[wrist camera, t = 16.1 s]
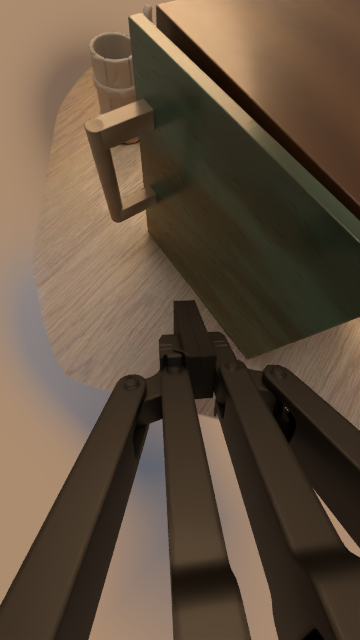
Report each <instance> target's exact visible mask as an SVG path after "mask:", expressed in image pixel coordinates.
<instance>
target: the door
mask: <svg viewBox="0 0 360 640" xmlns="http://www.w3.org/2000/svg"><path fill="white" fill-rule="evenodd" d="M128 19H129V30H130V42H131V52H132V63H133V74H134V85H135V96H136V102H133V103H131V104H128V105H126V106H123V107H120V108H118V109H115V110H113V111H110V112H107V113H105V114H102V115H100V116H97V117H94V118H92V119H89V120H87V121H86V122H85V130H86V133H87V137H88V140H89V144H90V147H91V150H92V154H93V157H94V160H95V164H96V167H97V171H98V174H99V177H100V181H101V184H102V188H103V191H104V194H105V198H106V201H107V205H108V208H109V211H110V215H111V218H112V220H113V221H114V222H117V223H120V222H122V221H124V220H126V219H128V218H130V217H132V216H134V215H136V214H138V213H140V212H142V211H144V210H145V209H146V215H147V226H148V232H149V233H150V235H151V236H152V237H153V238H154V240H155V241H156V242H157V244H158V245H159V246H160V247H161V249H162V250H163V251H164V253H165V254H166V255H167V256H168V258H169V259H170V260H171V262H172V263H173V264H174V265H175V267H176V268H177V269H178V271H179V272H180V273H181V274H182V276H183V277H184V278H185V279H186V281H187V282H188V283H189V285H190V286H191V287H192V288H193V290H194V291H195V292H196V294H197V295H198V296H199V297H200V299H201V300H202V301H203V303H204V304H205V305H206V306H207V308H208V309H209V310H210V312H211V313H212V314H213V315H214V317H215V318H216V319H217V321H218V322H219V323H220V324H221V326H222V327H223V328H224V329H225V331H226V332H227V333H228V335H229V336H230V337H231V338H232V340H233V341H234V342H235V344H236V345H237V346H238V347H239V349H240V350H241V351H242V353H243V354H244V355H245V356H246V358H247V359H251V358H253V357H256V356H258V355H261V354H264V353H266V352H269V351H272V350H274V349H277V348H280V347H282V346H285V345H287V344H290V343H293V342H295V341H298V340H301V339H303V338H306V337H308V336H311V335H314V334H316V333H319V332H322V331H324V330H327V329H330V328H332V327H335V326H337V325H340V324H343V323H345V322H348V321H351V320H353V319H356V318H358V317H360V220H358V219H357V218H356V217H355V216H354V215H353V214H352V213H351V212H350V211H349V210H348V209H347V208H346V207H345V206H344V205H343V204H342V203H341V202H340V201H339V200H337V199H336V198H335V197H334V196H333V195H332V194H331V193H330V192H329V191H328V190H327V189H326V188H325V187H324V186H323V185H322V184H321V183H320V182H319V181H318V180H316V179H315V178H314V177H313V176H312V175H311V174H310V173H309V172H308V171H307V170H306V169H305V168H304V167H303V166H302V165H301V164H300V163H299V162H298V161H297V160H295V159H294V158H293V157H292V156H291V155H290V154H289V153H288V152H287V151H286V150H285V149H284V148H283V147H282V146H281V145H280V144H279V143H278V142H277V141H276V140H274V139H273V138H272V137H271V136H270V135H269V134H268V133H267V132H266V131H265V130H264V129H263V128H262V127H261V126H260V125H259V124H258V123H257V122H256V121H255V120H253V119H252V118H251V117H250V116H249V115H248V114H247V113H246V112H245V111H244V110H243V109H242V108H241V107H240V106H239V105H238V104H237V103H236V102H235V101H234V100H232V99H231V98H230V97H229V96H228V95H227V94H226V93H225V92H224V91H223V90H222V89H221V88H220V87H219V86H218V85H217V84H216V83H215V82H214V81H213V80H211V79H210V78H209V77H208V76H207V75H206V74H205V73H204V72H203V71H202V70H201V69H200V68H199V67H198V66H197V65H196V64H195V63H194V62H193V61H192V60H190V59H189V58H188V57H187V56H186V55H185V54H184V53H183V52H182V51H181V50H180V49H179V48H178V47H177V46H176V45H175V44H174V43H173V42H172V41H171V40H169V39H168V38H167V37H166V36H165V35H164V34H163V33H162V32H161V31H160V30H159V29H158V28H157V27H156V26H155V25H154V24H153V23H152V22H151V21H150V20H148V19H147V18H146V17H145V16H144V15H143V14H142V13H138V14H135V15H131V16H129V17H128ZM138 136H139V139H140V150H141V161H142V172H143V183H144V188H142V189H140V190H138V191H136V192H134V193H132V194H130V195H128V196H126V197H124V198H122V199H121V196H120V192H119V187H118V183H117V178H116V173H115V169H114V164H113V160H112V155H111V150H110V148H112V147H115V146H117V145H119V144H122V143H124V142H126V141H129V140H131V139H133V138H136V137H138Z"/></svg>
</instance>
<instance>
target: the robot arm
mask: <svg viewBox="0 0 360 640" xmlns="http://www.w3.org/2000/svg"><path fill="white" fill-rule="evenodd" d="M159 354H160V370H159V371H158V373H157V374H155V375H154V376H152V377H150V378H147V379H145V378H143V377H142V376H140V375H136V374H134V375H127V376H124V377H123V378H121V379H120V380H119V381H118V382H117V384H116V386H115V388H114V390H113V391H112V393H111V395H110V397H109V399H108V401H107V403H106V405H105V407H104V409H103V411H102V412H101V414H100V416H99V418H98V420H97V422H96V424H95V426H94V428H93V430H92V431H91V433H90V435H89V437H88V439H87V441H86V443H85V445H84V447H83V449H82V451H81V453H80V454H79V456H78V458H77V460H76V462H75V464H74V466H73V468H72V470H71V472H70V474H69V475H68V477H67V479H66V481H65V483H64V485H63V487H62V489H61V491H60V493H59V494H58V497H57V498H56V500H55V502H54V504H53V506H52V508H51V510H50V512H49V514H48V516H47V518H46V520H45V521H44V523H43V525H42V527H41V529H40V531H39V533H38V535H37V537H36V539H35V540H34V542H33V544H32V546H31V548H30V550H29V552H28V554H27V556H26V557H25V559H24V561H23V563H22V565H21V567H20V569H19V571H18V573H17V575H16V577H15V579H14V580H13V582H12V584H11V586H10V588H9V590H8V592H7V594H6V596H5V598H4V600H3V601H2V603H1V605H0V640H88V639H89V635H90V632H91V628H92V625H93V621H94V618H95V614H96V611H97V607H98V603H99V600H100V597H101V593H102V590H103V586H104V583H105V579H106V576H107V572H108V568H109V565H110V562H111V558H112V555H113V551H114V548H115V544H116V541H117V537H118V533H119V530H120V527H121V523H122V520H123V516H124V513H125V509H126V505H127V502H128V499H129V495H130V492H131V488H132V485H133V481H134V478H135V474H136V471H137V467H138V464H139V460H140V457H141V453H142V450H143V446H144V443H145V439H146V435H147V432H148V429H149V424H150V423H152V422H155V421H158V420H160V419H163V438H164V457H165V477H166V497H167V517H168V534H169V535H168V536H169V556H170V575H171V595H172V615H173V635H174V636H173V637H174V640H251V636H250V632H249V627H248V623H247V619H246V614H245V610H244V606H243V601H242V598H241V593H240V589H239V586H238V583H237V580H236V577H235V576H234V574H233V572H232V570H231V567H230V564H229V560H228V556H227V551H226V547H225V542H224V537H223V532H222V527H221V523H220V518H219V513H218V508H217V504H216V499H215V494H214V490H213V485H212V480H211V475H210V471H209V466H208V461H207V457H206V452H205V447H204V442H203V438H202V433H201V428H200V424H199V419H198V414H197V409H196V405H195V400H194V399H203V398H213V390H214V393H215V397H216V398H215V407H214V416H216V414H218V417H219V420H220V423H221V427H222V430H223V434H224V437H225V441H226V444H227V447H228V451H229V454H230V457H231V461H232V464H233V467H234V470H235V474H236V478H237V481H238V484H239V488H240V490H241V494H242V498H243V501H244V505H245V507H246V511H247V514H248V518H249V521H250V525H251V528H252V531H253V535H254V538H255V541H256V545H257V548H258V551H259V555H260V558H261V562H262V565H263V568H264V572H265V575H266V579H267V582H268V585H269V589H270V593H271V598H272V608H273V617H274V622H275V627H276V630H277V635H278V639H279V640H360V557H358V556H356V555H355V554H353V553H351V552H350V551H349V550H348V549H347V548H346V547H345V546H344V544H343V542H342V541H341V539H340V537H339V535H338V534H337V532H336V530H335V528H334V526H333V524H332V523H331V521H330V519H329V517H328V515H327V513H326V511H325V510H324V508H323V506H322V504H321V502H320V501H319V499H318V497H317V495H316V493H317V494H318V495H319V496H320V498H321V499H322V500H323V501H324V503H325V504H326V505H327V507H328V508H329V509H330V511H331V512H332V513H333V514H334V516H335V517H336V518H337V520H338V521H339V522H340V523H341V525H342V526H343V527H344V529H345V530H346V531H347V533H348V534H349V535H350V536H351V538H352V539H353V540H354V542H356V544H357V545H358V546H359V548H360V431H359V430H358V429H357V428H356V427H355V426H354V425H352V424H351V423H350V422H349V421H348V420H347V419H345V418H344V417H343V416H342V415H341V414H340V413H338V412H337V411H336V410H335V409H334V408H333V407H331V406H330V405H329V404H328V403H327V402H326V401H324V400H323V399H322V398H321V397H320V396H319V395H317V394H316V393H315V392H314V391H313V390H312V389H310V388H309V387H308V386H307V385H306V384H305V383H304V382H302V381H301V380H300V379H299V378H298V377H297V376H295V375H294V374H293V373H292V372H291V371H290V370H288V369H287V368H285V367H282V366H280V365H268V366H266V367H265V368H264V370H263V372H262V371H256V370H251V369H248V368H247V367H246V365H245V364H244V363H243V362H241V361H240V360H237V359H236V357H235V355H234V353H233V351H232V349H231V347H230V346H229V344H228V342H227V340H226V338H225V336H224V335H223V334H221V333H220V332H207V330H206V327H205V325H204V322H203V320H202V317H201V315H200V313H199V310H198V308H197V305H196V303H195V300H188V301H174V334H173V335H162V336H161V337H160V339H159ZM285 407H286V408H287V409H288V410H289V411H290V412H289V411H288V410H287V409H286V408H285ZM312 487H313V488H312ZM313 489H314V490H315V491H316V493H315V491H314V490H313Z"/></svg>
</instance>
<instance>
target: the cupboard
mask: <svg viewBox="0 0 360 640" xmlns="http://www.w3.org/2000/svg"><path fill="white" fill-rule="evenodd" d="M156 18H157V20H156V21H157V28H158V29H159V30H160V31H161V32H162V33H163V34H164V35H165V36H166V37H167V38H168V39H169V40H171V41H172V42H173V43H174V44H175V45H176V46H177V47H178V48H179V49H180V50H181V51H182V52H183V53H184V54H185V55H186V56H187V57H188V58H189V59H190V60H192V61H193V62H194V63H195V64H196V65H197V66H198V67H199V68H200V69H201V70H202V71H203V72H204V73H205V74H206V75H207V76H208V77H209V78H210V79H211V80H213V81H214V82H215V83H216V84H217V85H218V86H219V87H220V88H221V89H222V90H223V91H224V92H225V93H226V94H227V95H228V96H229V97H230V98H231V99H232V100H234V101H235V102H236V103H237V104H238V105H239V106H240V107H241V108H242V109H243V110H244V111H245V112H246V113H247V114H248V115H249V116H250V117H251V118H252V119H253V120H255V121H256V122H257V123H258V124H259V125H260V126H261V127H262V128H263V129H264V130H265V131H266V132H267V133H268V134H269V135H270V136H271V137H272V138H273V139H274V140H276V141H277V142H278V143H279V144H280V145H281V146H282V147H283V148H284V149H285V150H286V151H287V152H288V153H289V154H290V155H291V156H292V157H293V158H294V159H295V160H297V161H298V162H299V163H300V164H301V165H302V166H303V167H304V168H305V169H306V170H307V171H308V172H309V173H310V174H311V175H312V176H313V177H314V178H315V179H316V180H318V181H319V182H320V183H321V184H322V185H323V186H324V187H325V188H326V189H327V190H328V191H329V192H330V193H331V194H332V195H333V196H334V197H335V198H336V199H337V200H339V201H340V202H341V203H342V204H343V205H344V206H345V207H346V208H347V209H348V210H349V211H350V212H351V213H352V214H353V215H354V216H355V217H356V218H357V219H358V220H360V0H174V1H170V2H166V3H162V4H158V5H156Z"/></svg>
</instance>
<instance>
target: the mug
mask: <svg viewBox="0 0 360 640" xmlns="http://www.w3.org/2000/svg"><path fill="white" fill-rule="evenodd" d="M143 12H144V16H145V17H146V18H147V19H148V20H150V21H151V22H152V7H151V6H149V5H147V4H145V5H144V9H143ZM152 23H153V22H152ZM89 49H90V54H91V60H92V66H93V74H92V76H93V81H94V85H95V87H96V89H97V93H98V98H99V104H100V115H102V114H105V113H107V112H110V111H113V110H115V109H118V108H120V107H123V106H126V105H128V104H131V103H133V102H136V96H135V85H134V74H133V63H132V52H131V42H130V36H127V35H124V34H123V33H117V32H107V33H102V34H100V35H97V36H96V37H94V38H93V39H92V40H91V42H90V44H89ZM138 140H140V139H139V136H138V137H136V138H133V139H131V140H129V141H126V142H124V143H127V144H129V143H135V142H137V141H138Z"/></svg>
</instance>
